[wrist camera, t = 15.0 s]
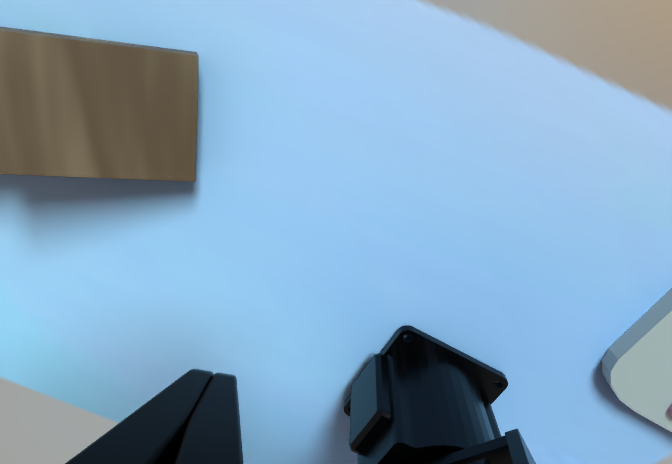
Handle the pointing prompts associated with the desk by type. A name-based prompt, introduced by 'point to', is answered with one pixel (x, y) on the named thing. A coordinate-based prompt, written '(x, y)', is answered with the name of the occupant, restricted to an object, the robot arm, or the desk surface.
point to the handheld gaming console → (644, 364)
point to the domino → (96, 108)
